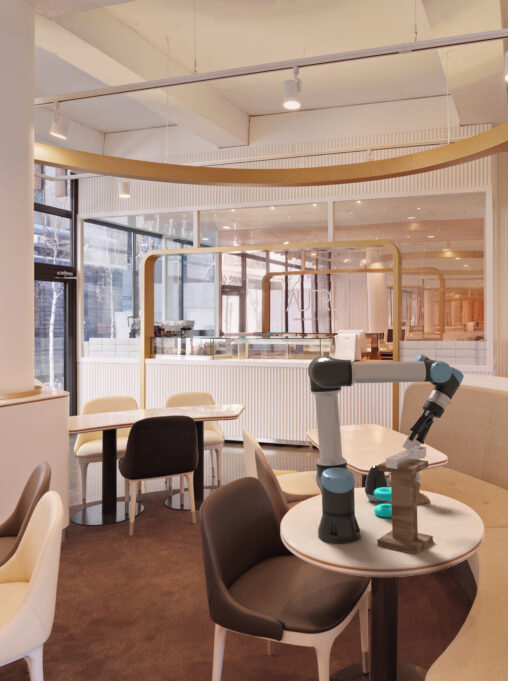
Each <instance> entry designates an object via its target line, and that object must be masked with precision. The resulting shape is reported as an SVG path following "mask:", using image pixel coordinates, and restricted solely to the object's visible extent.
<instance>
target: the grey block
mask: <svg viewBox="0 0 508 681" xmlns="http://www.w3.org/2000/svg"><path fill="white" fill-rule="evenodd" d="M424 456H425V457H426V456H427V447H426V446H420V447H419V446H415V447H412V448H410V449H408V450H407V449H405V450H403V451H401V452H398V453H396V454H393V455H391V456H389V457H386V458H385V462H386V467H387V468H394V469H398V468H400V467H403V466H405V465H407V464H409V463H411V462H413V461H416V460H418V459H419V460H421V459H420V458H422V457H424ZM425 457H424V458H425ZM422 459H423V458H422Z"/></svg>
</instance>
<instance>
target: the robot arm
mask: <svg viewBox="0 0 508 681" xmlns="http://www.w3.org/2000/svg"><path fill="white" fill-rule="evenodd" d="M307 374H308V377H309V386H310V393H312V394H313V395H314V397H315V399H314V400H315V408H316V409H315V410H316V423H317V425H316V426H317V433H318V434H317V436H318V439H317V440H318V450H319V458H318V459H317V460H316V462H315V463H316V475H315V478H316V479H315V480H316V484H317V486H318V489H319V490H320V492H321V506H322V510H321V511H322V515H321V518H320V522H319V525H318V529H317V536H318V538H319V539H320V540H322V541H324V542H327V543H331V544H333V543H334V544H349V543H354V542H357V541H358V540H360V538H361V528H360V526H359V523H358V520H357V517H356V513H355V512H356V507H355V504H356V503H355V476H354V473H353V472H352V471H351V470H349V469H348V462H347V459H346V458H345V457H344V456H343V450H342V437H341V436H342V435H341V425H340V424H341V423H340V422H341V421H340V408H339V396H338V395H339V394H340V392H342V387H352V386H354V384H379V383H380V384H384V383H385V384H387V383H389V384H391V383H430V384H431V385H433V386H434V387H433V388H432V391H431V392H430V394H429V396H428V397H427V400H426V401H425V402H424V404H423V406H422V410H423V412H422V413H421V415H420V417H419V418H418V419H417V421H415V423H414V424H413V426H412V427H410V428H409V431H410V433H409V435H408V437H406V440H405V442H404V443H403V445H402V448H404V449H405V450H408V449H410V448H412V447H415V446H419V447H421V445H424V444H425V442H424V441H425V439H426V438H427V435H428V433H429V431H430V429H431V428H432V425H433V424H434V418H437V419H441V417H443V414H444V413H445V409H447V407H448V405H451V401H452V399H453V397H454V396H455V394H456V393H457V391H458V389H459V387H461V384H462V382H463V380H464V374H463V372H462V371H461V370H459V369H457V368H455V367H453V366H451V365H449V363H447V362H445V361H443V360H435V359H431V358H429V357H428V356H426V355H424V354H423V353H420V354H418V355H416V357H415V358H414V359H413V361H368V362H367V361H366V362H365V361H364V362H362V361H361V362H359V361H357V362H356V361H355V362H354V361H353V360H351V359H340V358H335V357H333V356H330V355H319V356H315V357H314V358H313V359H312V360H311V362H310V363H309V364H308V368H307Z"/></svg>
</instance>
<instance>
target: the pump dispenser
mask: <svg viewBox="0 0 508 681" xmlns="http://www.w3.org/2000/svg"><path fill="white" fill-rule="evenodd" d="M384 472H385V471H378V464H377V465H373V466H371V467H370V469H369V470H368V473H367V475H366V478H365V484H364V493H365V496H366V497H367V499H368V500H369V501H371V502H373V503H381V502H384V500H380V499H378V498H376V497H375V495H374V491H375V490H376V489H377V488H382V487H388V482H387V479H386V476H385V473H384Z"/></svg>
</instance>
